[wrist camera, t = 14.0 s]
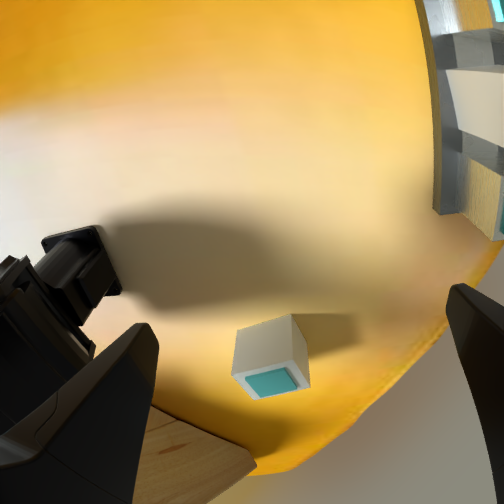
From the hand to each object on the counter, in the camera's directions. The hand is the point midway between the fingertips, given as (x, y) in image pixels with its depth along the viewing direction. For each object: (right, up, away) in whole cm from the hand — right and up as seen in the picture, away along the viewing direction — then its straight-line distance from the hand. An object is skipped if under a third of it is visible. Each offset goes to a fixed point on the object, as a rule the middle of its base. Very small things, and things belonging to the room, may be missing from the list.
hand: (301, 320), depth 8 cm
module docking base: (+14, +13, +7) cm, 20 cm away
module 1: (0, -6, +19) cm, 19 cm away
